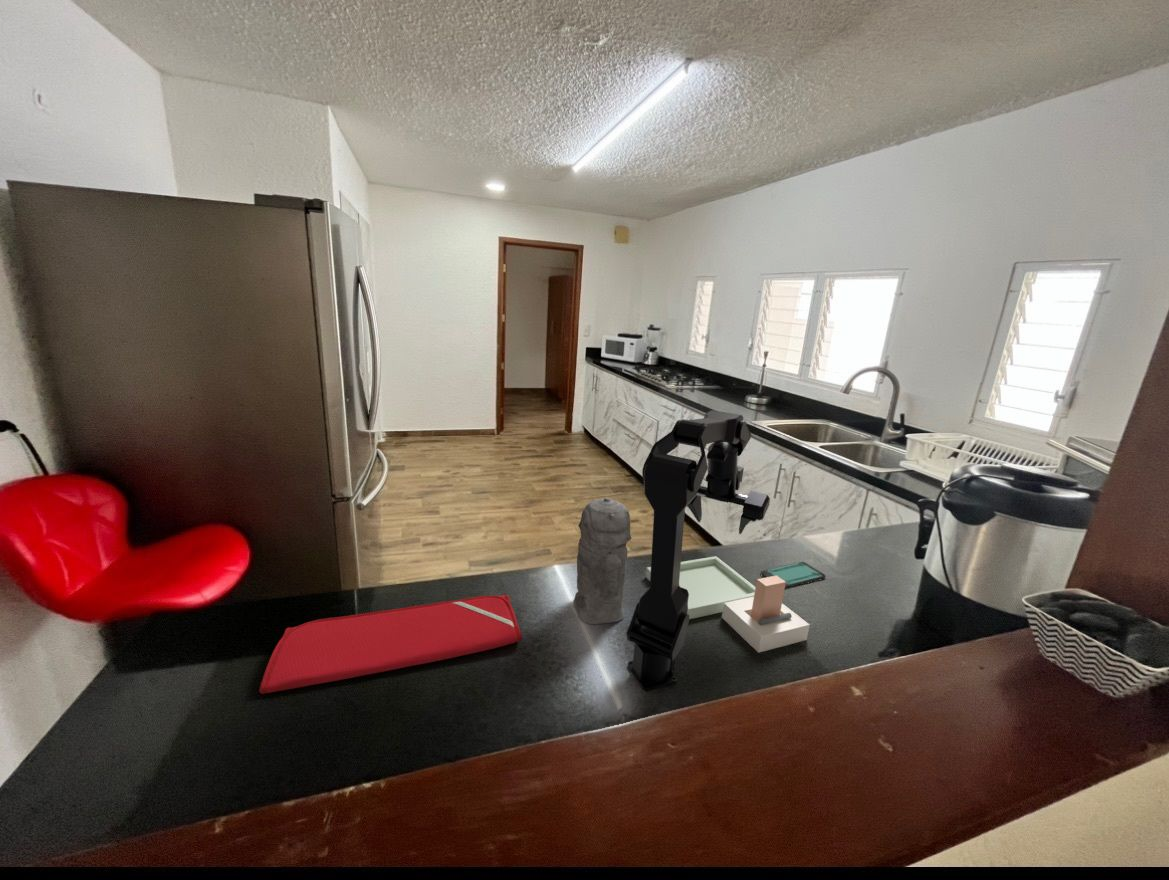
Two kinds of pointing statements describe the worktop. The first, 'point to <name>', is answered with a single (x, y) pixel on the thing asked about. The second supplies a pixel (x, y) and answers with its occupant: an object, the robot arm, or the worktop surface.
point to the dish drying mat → (388, 641)
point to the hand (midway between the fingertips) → (719, 526)
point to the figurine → (602, 561)
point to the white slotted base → (765, 625)
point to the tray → (710, 585)
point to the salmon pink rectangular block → (768, 597)
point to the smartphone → (795, 573)
